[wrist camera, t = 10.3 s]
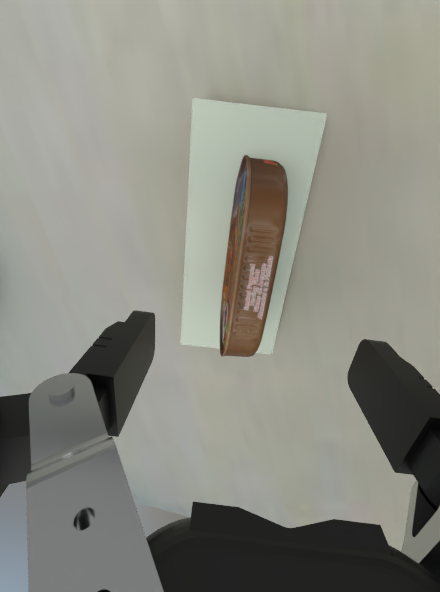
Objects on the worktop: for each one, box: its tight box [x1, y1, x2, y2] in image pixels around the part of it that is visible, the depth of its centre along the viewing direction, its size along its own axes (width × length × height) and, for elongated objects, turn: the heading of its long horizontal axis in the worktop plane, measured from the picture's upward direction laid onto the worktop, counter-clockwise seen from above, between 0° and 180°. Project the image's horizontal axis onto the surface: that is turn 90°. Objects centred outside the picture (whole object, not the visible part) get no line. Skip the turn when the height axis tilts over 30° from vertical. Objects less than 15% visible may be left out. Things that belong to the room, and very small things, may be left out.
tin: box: [220, 155, 288, 357], centre depth 20 cm, size 15×3×8 cm, turn 174°
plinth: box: [181, 98, 327, 355], centre depth 26 cm, size 10×22×5 cm, turn 174°
